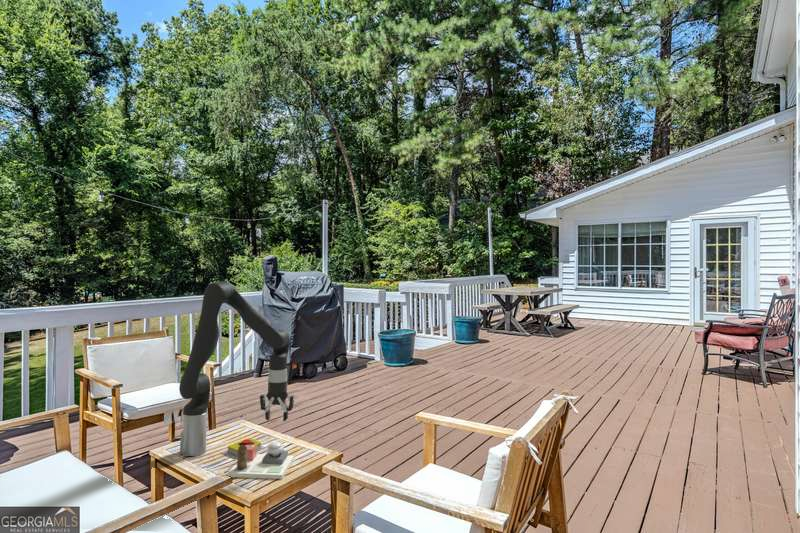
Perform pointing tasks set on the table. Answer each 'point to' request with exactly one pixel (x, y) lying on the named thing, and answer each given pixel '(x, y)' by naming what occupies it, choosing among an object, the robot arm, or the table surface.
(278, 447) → the dome
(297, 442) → the table surface
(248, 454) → the die
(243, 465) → the pawn
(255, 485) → the table surface
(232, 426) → the table surface
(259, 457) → the board
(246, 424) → the table surface
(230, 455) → the emergency button
